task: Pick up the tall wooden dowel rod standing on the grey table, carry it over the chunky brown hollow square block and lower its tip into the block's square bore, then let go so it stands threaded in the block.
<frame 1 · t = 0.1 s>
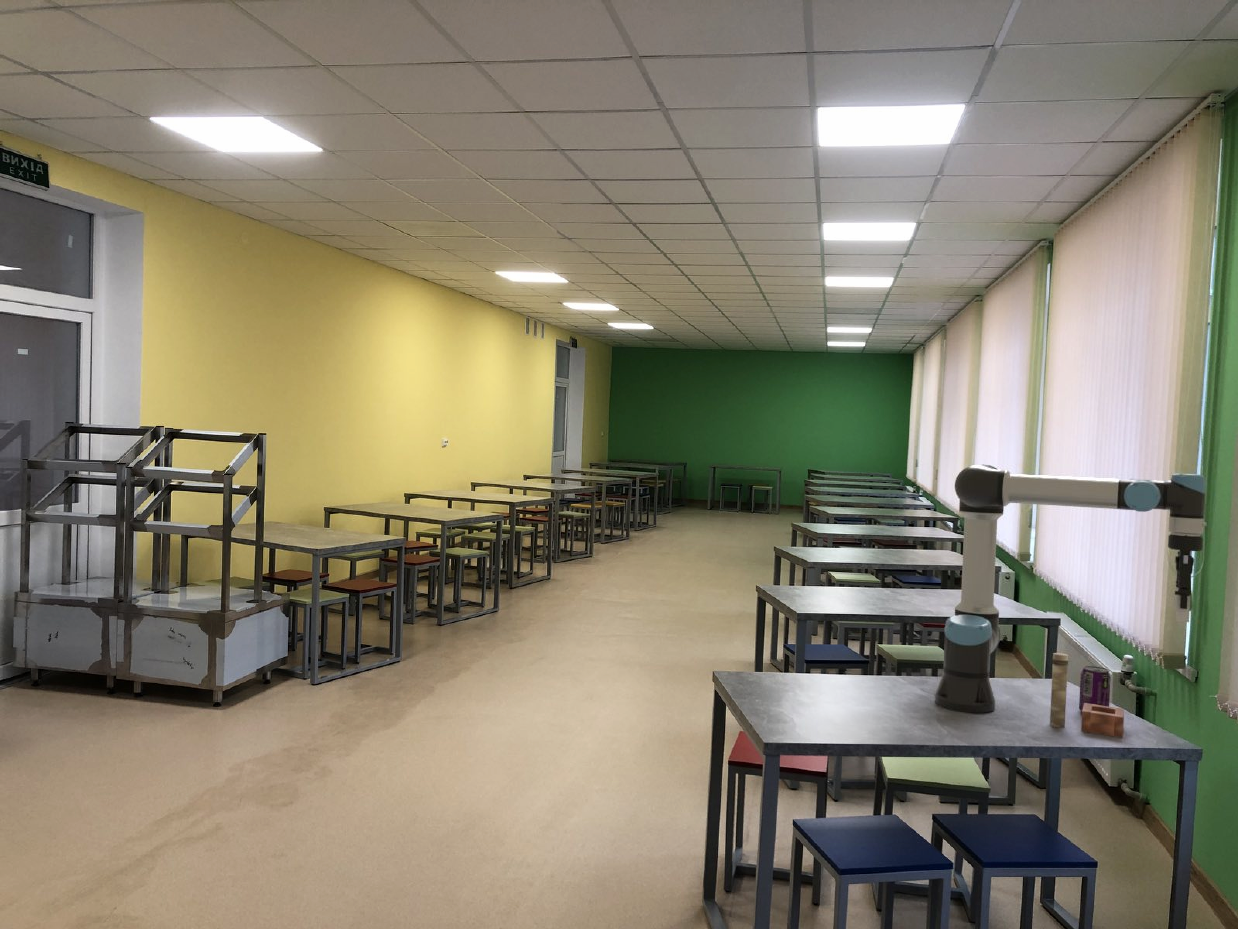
hand: (1181, 617, 235), 28 cm above the table, fingers open, 13 cm apart
brown hollow square block: (1102, 729, 230), on the table
wooden dowel rod: (1057, 725, 233), on the table
beverage can: (1093, 714, 245), on the table
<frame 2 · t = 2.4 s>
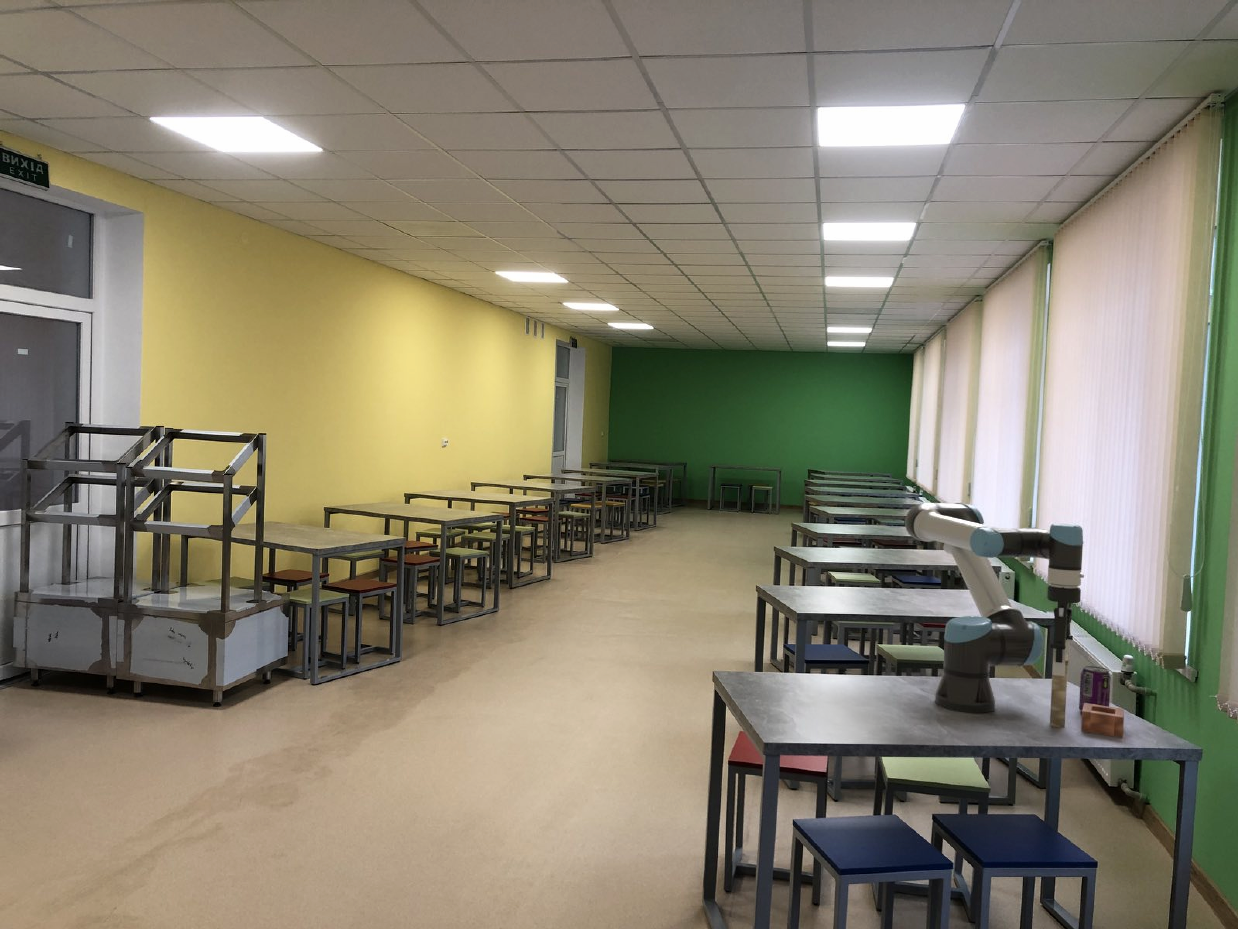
hand: (1060, 670, 232), 14 cm above the table, fingers open, 13 cm apart
nothing on the table moved.
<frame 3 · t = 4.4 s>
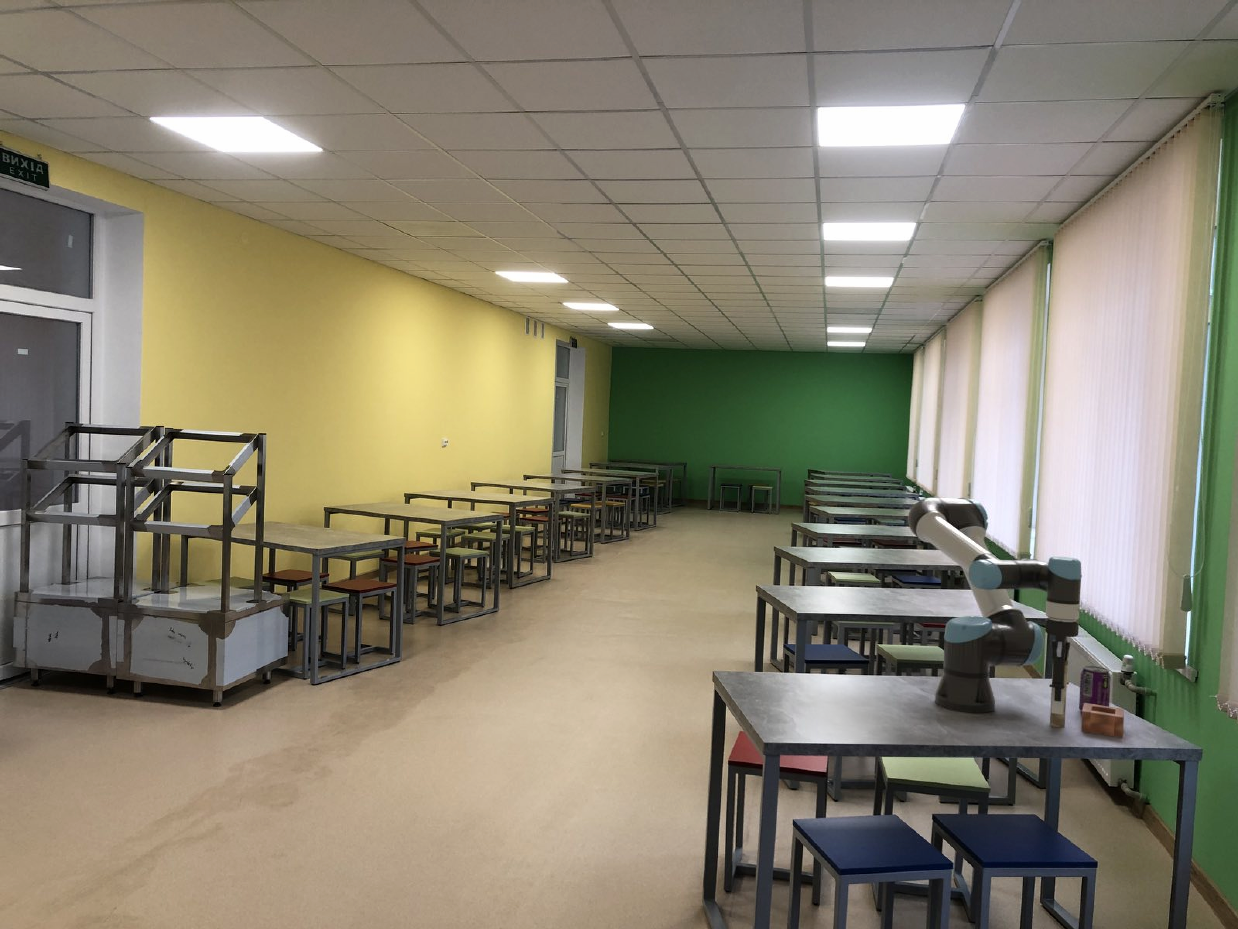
hand: (1057, 711, 232), 4 cm above the table, fingers closed on wooden dowel rod, 3 cm apart
wooden dowel rod: (1057, 725, 233), on the table, touching gripper
everything else where it was.
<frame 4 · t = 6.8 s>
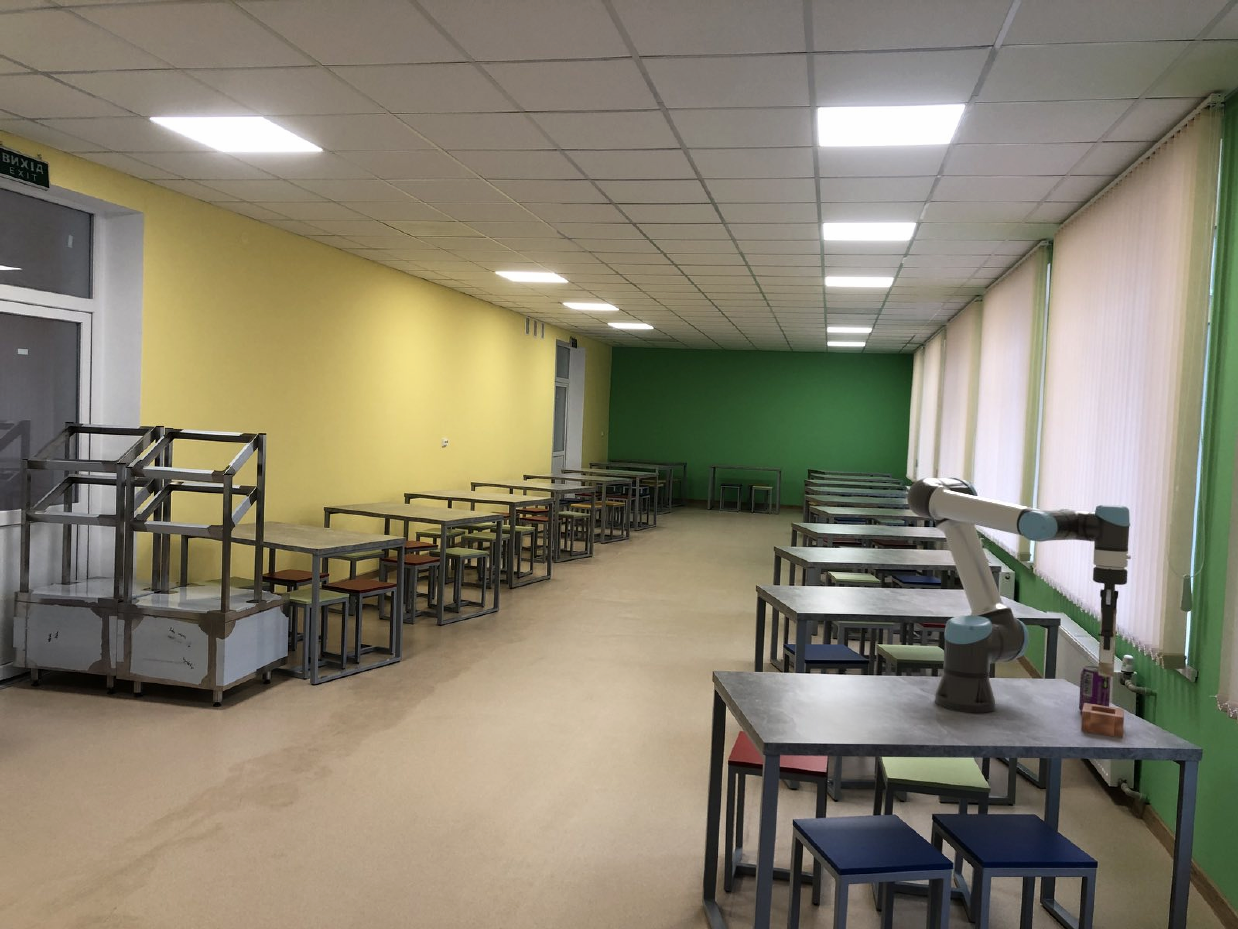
hand: (1106, 661, 230), 17 cm above the table, fingers closed on wooden dowel rod, 3 cm apart
wooden dowel rod: (1105, 675, 230), point 14 cm above the table, touching gripper
everything else where it was.
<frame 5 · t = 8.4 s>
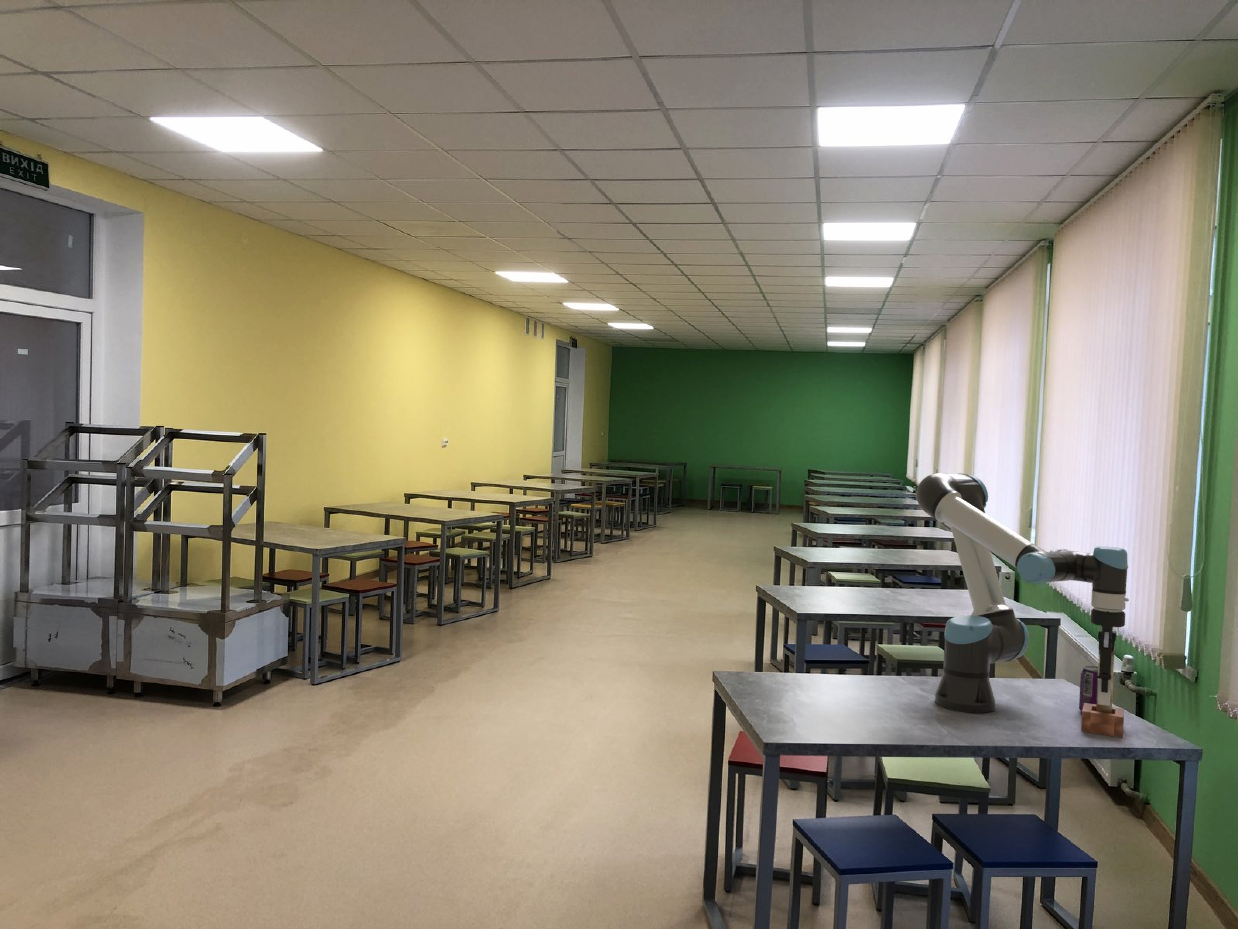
hand: (1104, 702, 230), 7 cm above the table, fingers closed on wooden dowel rod, 3 cm apart
wooden dowel rod: (1103, 717, 230), point 3 cm above the table, touching gripper
everything else where it was.
when the fingers open (6 cm above the table, at t = 9.4 s): wooden dowel rod drops 2 cm, resting in brown hollow square block.
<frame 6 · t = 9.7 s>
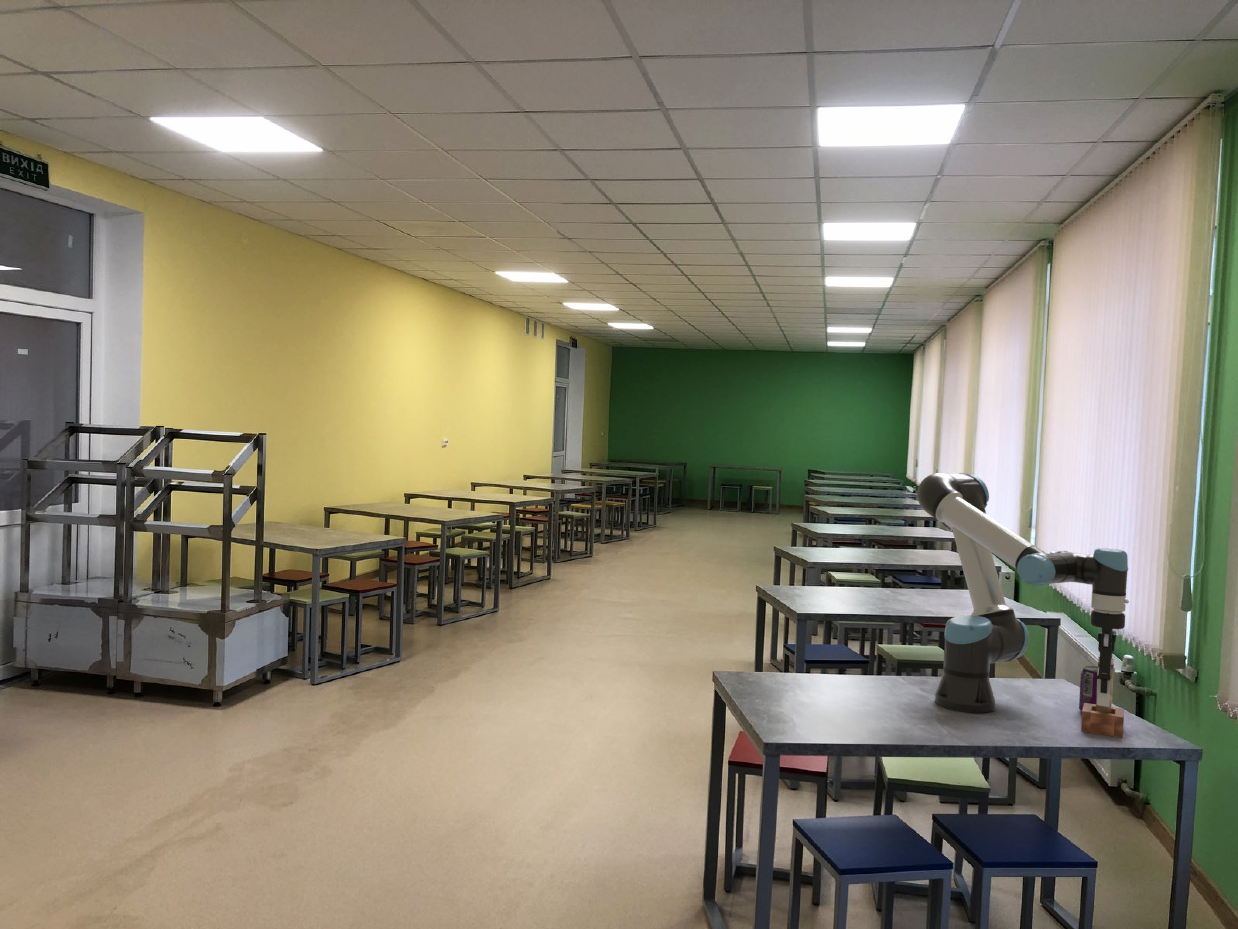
hand: (1103, 701, 230), 7 cm above the table, fingers open, 8 cm apart
wooden dowel rod: (1102, 729, 230), resting in brown hollow square block
everything else where it was.
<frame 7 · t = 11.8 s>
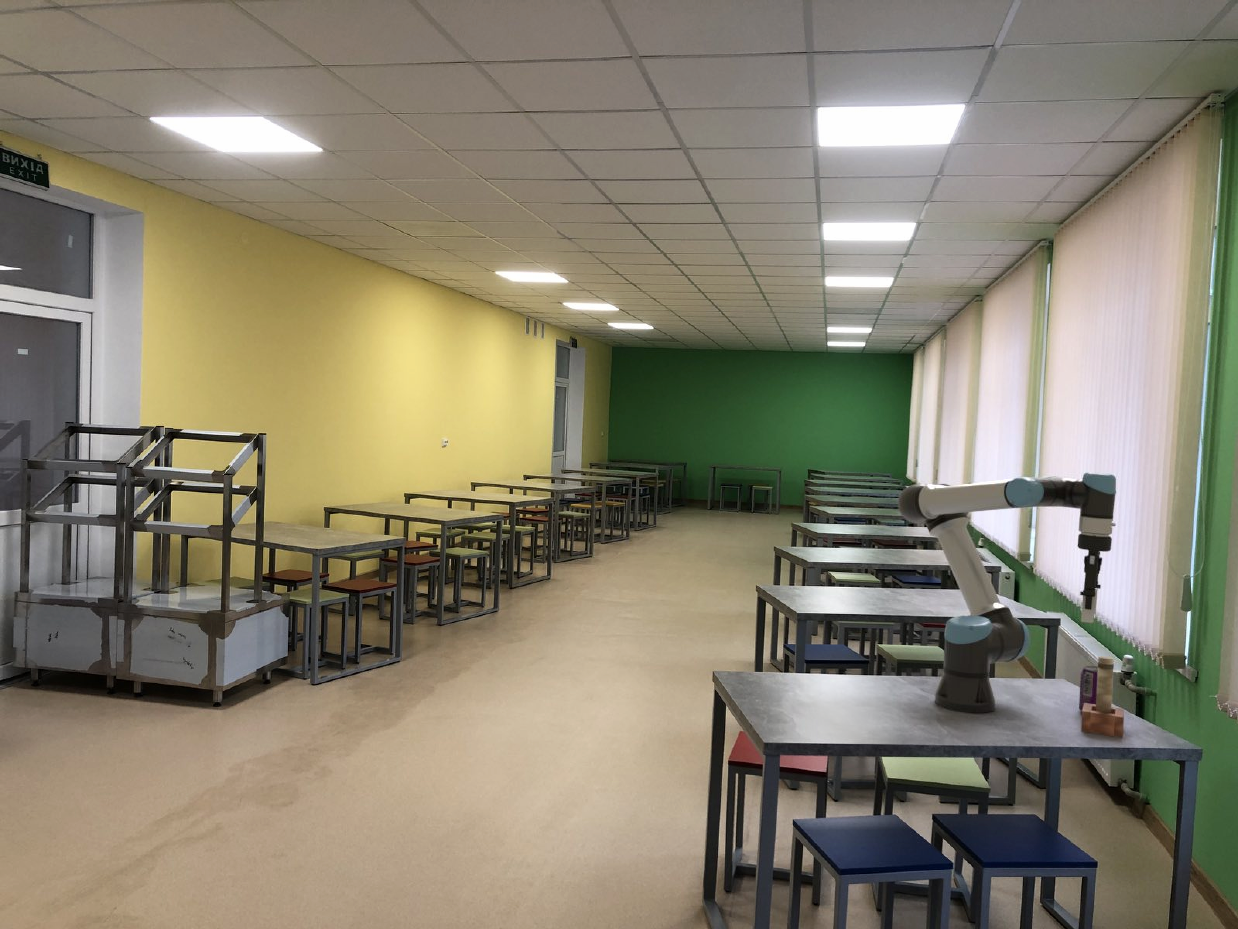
hand: (1088, 617, 233), 27 cm above the table, fingers open, 13 cm apart
nothing on the table moved.
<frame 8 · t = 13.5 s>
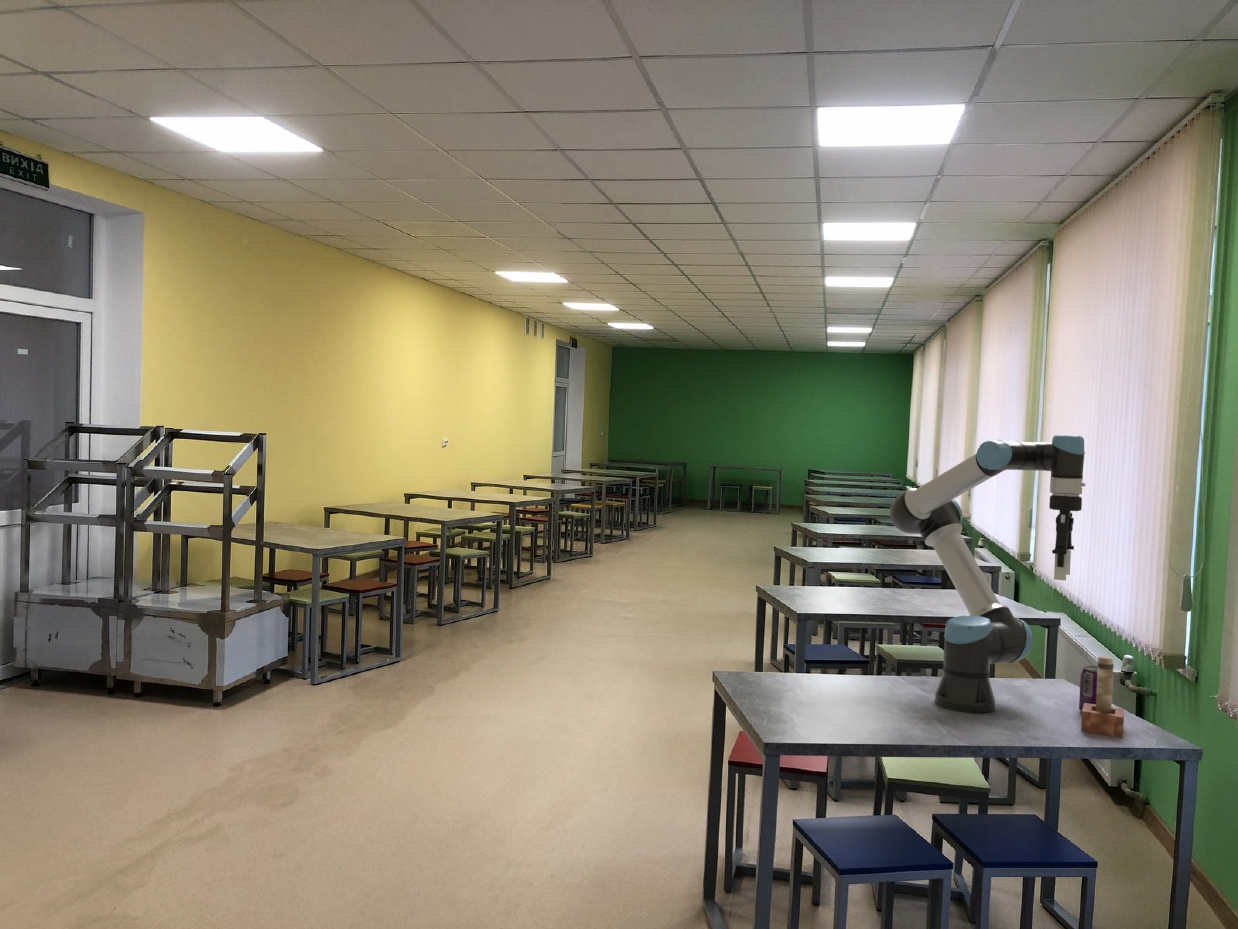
hand: (1062, 577, 238), 37 cm above the table, fingers open, 13 cm apart
nothing on the table moved.
at the end: wooden dowel rod 0.0 cm off-centre on the brown hollow square block, point 0.0 cm above the brown hollow square block's base; wooden dowel rod tilted 0°; the gripper is holding nothing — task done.
